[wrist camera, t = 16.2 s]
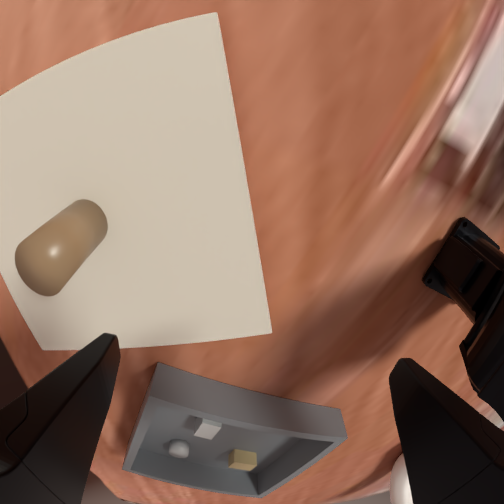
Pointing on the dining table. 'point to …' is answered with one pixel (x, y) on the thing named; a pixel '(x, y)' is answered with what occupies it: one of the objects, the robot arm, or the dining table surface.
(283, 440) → the tray
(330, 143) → the dining table surface
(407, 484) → the white shrimp
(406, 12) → the dining table surface
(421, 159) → the dining table surface
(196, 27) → the tub lid
